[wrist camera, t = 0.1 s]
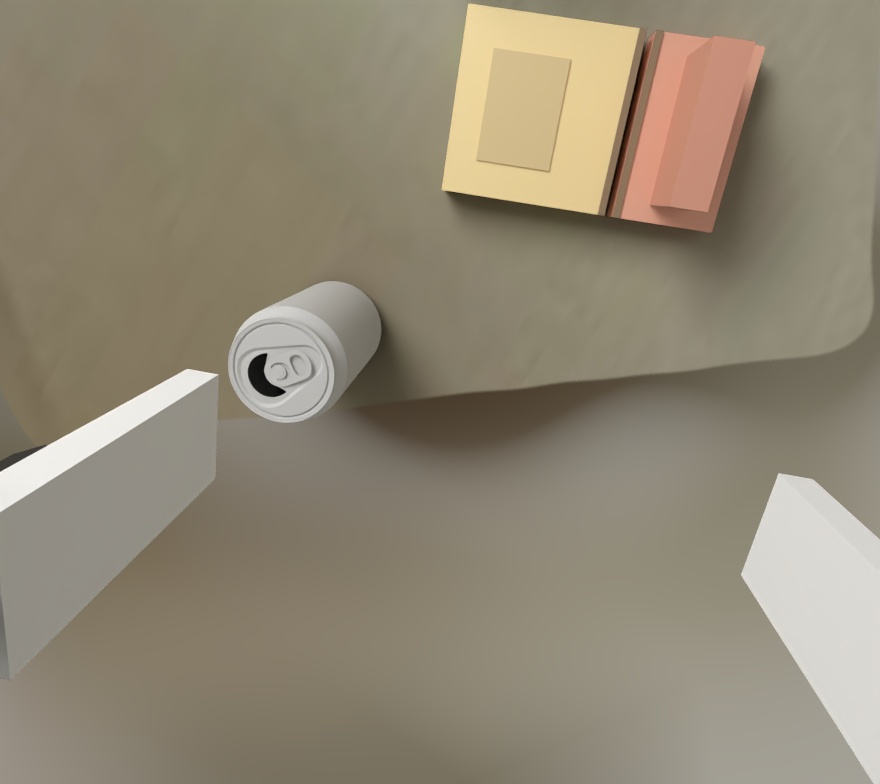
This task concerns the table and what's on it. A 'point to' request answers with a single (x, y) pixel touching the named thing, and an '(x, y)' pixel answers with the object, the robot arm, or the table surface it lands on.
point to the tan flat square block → (540, 108)
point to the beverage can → (304, 351)
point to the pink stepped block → (684, 129)
